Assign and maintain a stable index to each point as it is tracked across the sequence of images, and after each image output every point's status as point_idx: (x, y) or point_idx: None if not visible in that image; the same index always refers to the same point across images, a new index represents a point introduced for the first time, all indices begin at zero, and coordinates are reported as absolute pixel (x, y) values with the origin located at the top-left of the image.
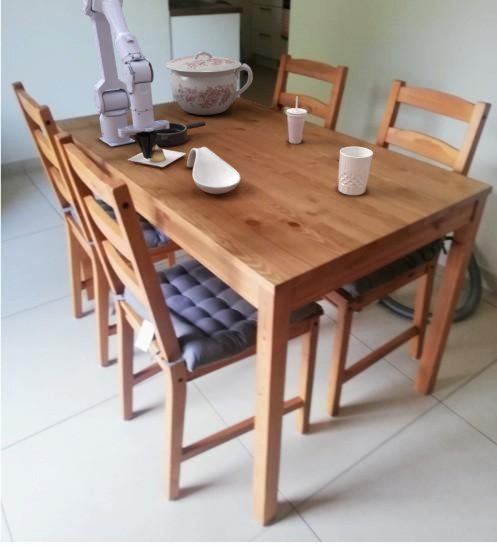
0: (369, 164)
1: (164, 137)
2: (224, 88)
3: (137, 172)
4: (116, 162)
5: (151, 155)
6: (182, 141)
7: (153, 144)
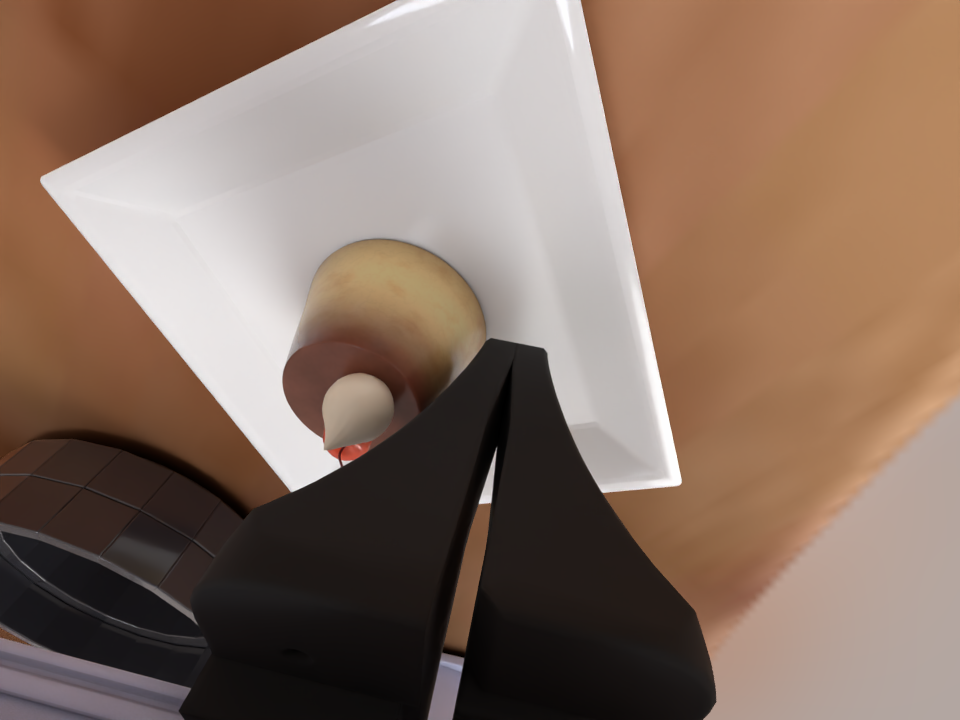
0: None
1: (154, 547)
2: None
3: (867, 183)
4: (718, 528)
5: (454, 374)
6: (42, 447)
7: (400, 432)
